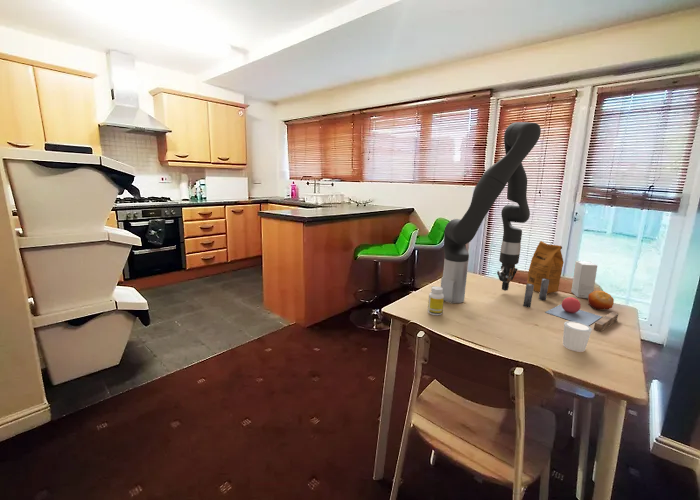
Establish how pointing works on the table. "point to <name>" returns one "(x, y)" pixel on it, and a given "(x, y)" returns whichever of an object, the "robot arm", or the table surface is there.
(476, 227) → the robot arm
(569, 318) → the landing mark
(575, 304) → the ball
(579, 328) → the white cup
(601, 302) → the fruit
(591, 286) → the skincare box
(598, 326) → the wall
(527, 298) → the near post
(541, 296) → the far post
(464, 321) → the table surface
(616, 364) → the table surface
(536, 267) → the coffee package
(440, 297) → the supplement bottle
